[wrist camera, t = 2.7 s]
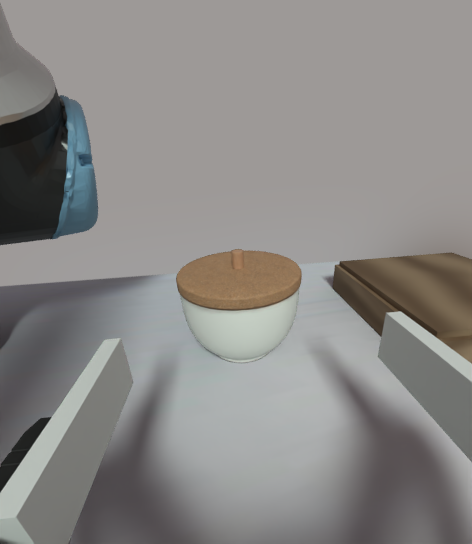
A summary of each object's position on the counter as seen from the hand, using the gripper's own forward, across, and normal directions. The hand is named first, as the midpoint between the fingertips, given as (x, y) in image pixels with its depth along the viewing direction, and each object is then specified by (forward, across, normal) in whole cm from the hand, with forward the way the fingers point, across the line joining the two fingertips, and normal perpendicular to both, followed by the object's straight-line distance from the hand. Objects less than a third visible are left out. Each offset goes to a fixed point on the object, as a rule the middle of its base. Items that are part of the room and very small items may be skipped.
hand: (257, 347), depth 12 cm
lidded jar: (+10, 0, -8) cm, 13 cm away
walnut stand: (+12, +21, -7) cm, 25 cm away
